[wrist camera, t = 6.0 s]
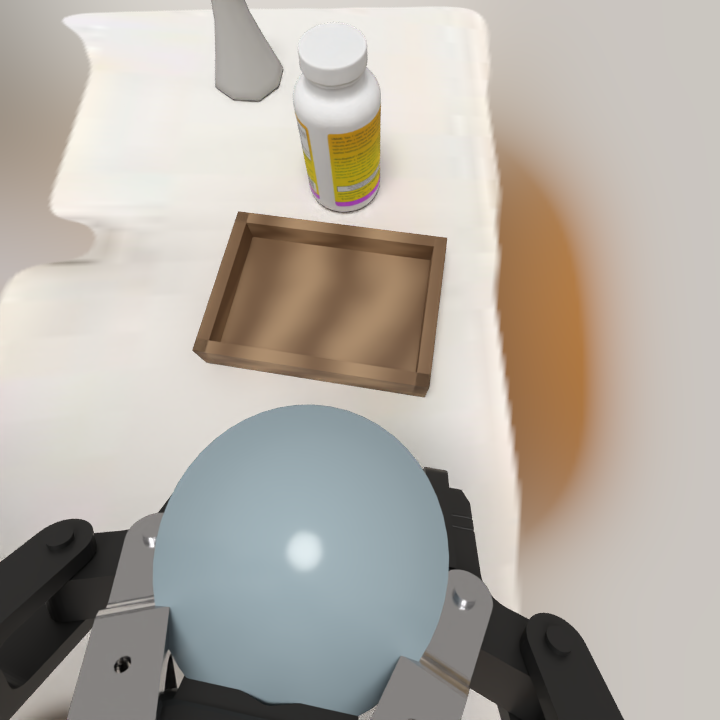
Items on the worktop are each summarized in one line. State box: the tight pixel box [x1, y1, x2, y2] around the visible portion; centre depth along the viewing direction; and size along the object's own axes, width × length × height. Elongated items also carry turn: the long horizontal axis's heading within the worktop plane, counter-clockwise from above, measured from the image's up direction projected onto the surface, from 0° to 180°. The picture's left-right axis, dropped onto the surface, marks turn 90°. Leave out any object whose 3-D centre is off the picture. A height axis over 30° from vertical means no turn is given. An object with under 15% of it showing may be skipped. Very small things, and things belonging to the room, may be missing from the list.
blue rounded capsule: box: [153, 405, 449, 716], centre depth 12 cm, size 6×6×10 cm
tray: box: [192, 212, 447, 397], centre depth 33 cm, size 18×13×3 cm
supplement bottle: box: [293, 22, 381, 212], centre depth 33 cm, size 7×7×13 cm
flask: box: [211, 0, 283, 101], centre depth 40 cm, size 7×7×10 cm
